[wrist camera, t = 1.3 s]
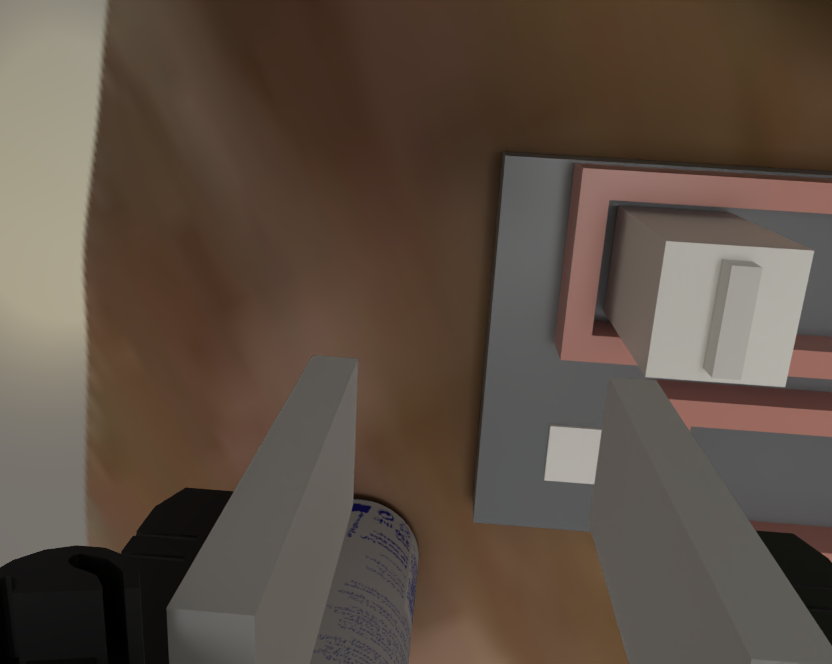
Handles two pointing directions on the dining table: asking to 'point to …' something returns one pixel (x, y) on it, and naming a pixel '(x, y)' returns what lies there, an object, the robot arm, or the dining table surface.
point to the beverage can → (370, 591)
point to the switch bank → (609, 357)
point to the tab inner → (705, 295)
